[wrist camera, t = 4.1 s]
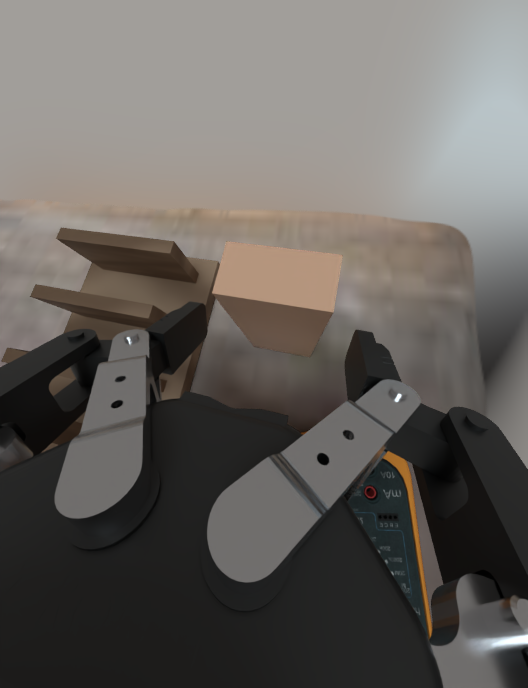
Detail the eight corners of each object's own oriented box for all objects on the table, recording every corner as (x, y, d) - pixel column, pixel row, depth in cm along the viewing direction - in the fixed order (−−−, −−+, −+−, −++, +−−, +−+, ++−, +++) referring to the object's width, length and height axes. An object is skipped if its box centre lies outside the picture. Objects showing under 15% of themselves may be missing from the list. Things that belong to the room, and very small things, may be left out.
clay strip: (309, 357, 19) (333, 312, 8) (254, 346, 20) (211, 293, 9) (314, 330, 20) (342, 254, 9) (259, 320, 20) (226, 241, 10)
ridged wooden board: (166, 474, 18) (109, 511, 13) (40, 435, 20) (-59, 452, 15) (222, 270, 22) (198, 225, 16) (110, 254, 24) (52, 210, 18)
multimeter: (385, 427, 18) (408, 435, 14) (429, 735, 14) (474, 845, 10) (278, 428, 19) (275, 436, 15) (290, 717, 15) (290, 813, 11)
